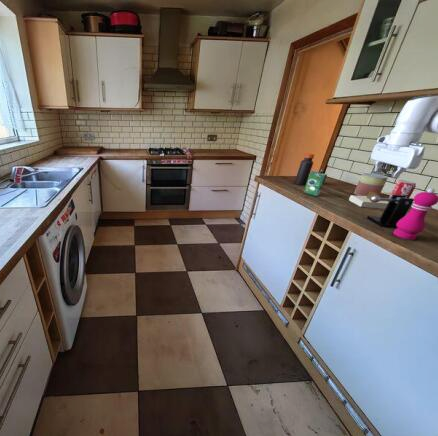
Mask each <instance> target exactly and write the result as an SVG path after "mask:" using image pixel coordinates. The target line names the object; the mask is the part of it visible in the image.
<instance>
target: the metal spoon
mask: <svg viewBox="0 0 438 436" xmlns="http://www.w3.org/2000/svg"><path fill="white" fill-rule="evenodd" d="M400 198H404V197H397V198H396V199H391V198H389V197H381V196H380V195H379V196H378V195H373V196H371V197H370V201H371V202H379V201H392V202H395V203H398V201H399V200H400Z"/></svg>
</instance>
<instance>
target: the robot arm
mask: <svg viewBox="0 0 438 436" xmlns="http://www.w3.org/2000/svg"><path fill="white" fill-rule="evenodd" d="M425 132H427V133H430V134H435V135H438V94H427V95H425V94H424V95H419V96H414V97H412V98H410V99H408V100H407V101H406V103H405V104H404V106H403V107H402V109H401V110H400V112H399V115H398V116H397V118H396V122H395V126H394V127H393V128H392V130H391V131H390V133H389V134H387V135H383V136H379V137H378V138H377V140H376V144H375V145H374V147H373V149H372V151H371V154H370V160H374V161H375V165H374V166H375V168H374V172H375V173H381V172H382V171H383V166H382V165H383V164H387V165H392V166H395V167H397V168H396V169H397V170H396V171H395V172H392V174H391V175H390V176H391V177H390V178H394V179H398V178H400V176H401V175H402V174H403V173H404V172H406V171H407V170H409V169H410V170H415V169H417V168H418V167H419V166H420V165H421V162H422V161H423V158H424V154H425V150H426V147H425V145H424V144H423V143H421V142H420V140H421V138H422V136H423V135H424V133H425Z"/></svg>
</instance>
